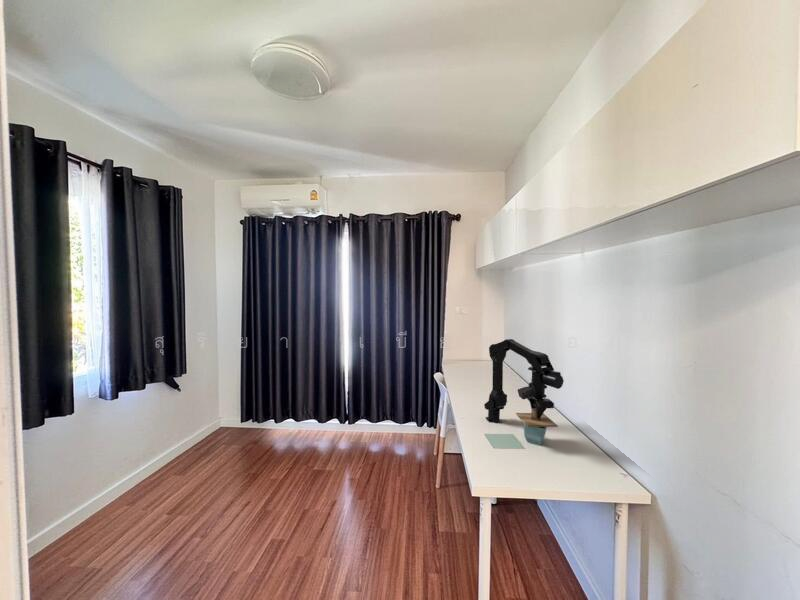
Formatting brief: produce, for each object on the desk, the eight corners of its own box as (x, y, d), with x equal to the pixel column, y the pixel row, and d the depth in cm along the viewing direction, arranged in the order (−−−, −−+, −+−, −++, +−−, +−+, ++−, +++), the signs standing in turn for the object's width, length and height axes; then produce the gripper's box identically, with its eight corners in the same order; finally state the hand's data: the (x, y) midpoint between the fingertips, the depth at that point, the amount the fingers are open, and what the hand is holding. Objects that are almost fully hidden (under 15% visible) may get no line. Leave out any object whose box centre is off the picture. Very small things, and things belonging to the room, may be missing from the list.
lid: (515, 414, 158) (516, 404, 158) (543, 415, 159) (543, 404, 158) (527, 426, 145) (528, 415, 145) (557, 427, 146) (558, 416, 145)
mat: (483, 434, 158) (483, 433, 158) (513, 435, 159) (513, 434, 159) (493, 449, 144) (493, 448, 144) (525, 449, 145) (525, 448, 145)
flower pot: (546, 441, 154) (547, 421, 153) (543, 449, 146) (544, 428, 146) (526, 436, 158) (527, 417, 158) (522, 443, 151) (523, 423, 150)
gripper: (512, 375, 160) (510, 408, 161) (529, 388, 141) (527, 425, 142) (535, 376, 160) (533, 408, 161) (555, 388, 142) (553, 425, 143)
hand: (536, 416), depth 152 cm, fingers closed on lid, 4 cm apart
